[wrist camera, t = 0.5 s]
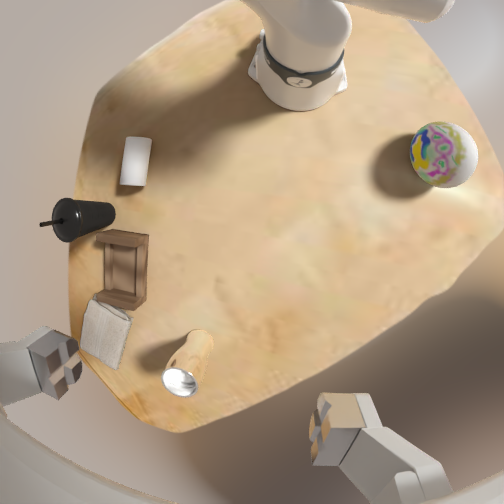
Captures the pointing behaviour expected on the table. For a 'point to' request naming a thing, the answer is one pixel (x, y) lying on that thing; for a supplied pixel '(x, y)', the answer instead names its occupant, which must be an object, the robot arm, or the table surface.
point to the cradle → (124, 268)
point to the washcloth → (105, 332)
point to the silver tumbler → (188, 364)
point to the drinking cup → (79, 218)
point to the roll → (135, 161)
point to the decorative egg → (443, 154)
